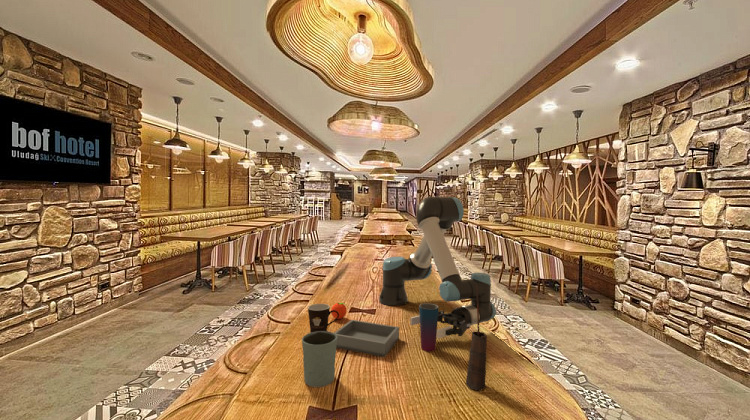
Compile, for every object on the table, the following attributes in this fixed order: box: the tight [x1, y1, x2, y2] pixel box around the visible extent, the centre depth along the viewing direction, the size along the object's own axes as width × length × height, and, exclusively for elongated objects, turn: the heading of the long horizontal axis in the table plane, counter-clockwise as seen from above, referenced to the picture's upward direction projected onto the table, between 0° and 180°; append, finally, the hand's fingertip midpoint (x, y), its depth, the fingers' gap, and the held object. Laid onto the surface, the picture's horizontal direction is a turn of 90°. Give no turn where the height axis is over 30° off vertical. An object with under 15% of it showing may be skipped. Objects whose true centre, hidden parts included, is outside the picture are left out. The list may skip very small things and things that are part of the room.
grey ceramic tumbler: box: [301, 330, 337, 388], centre depth 90 cm, size 10×10×12 cm
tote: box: [333, 319, 400, 358], centre depth 115 cm, size 16×20×4 cm
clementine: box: [330, 302, 349, 320], centre depth 140 cm, size 8×7×7 cm
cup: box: [418, 302, 440, 352], centre depth 111 cm, size 7×7×15 cm
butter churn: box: [465, 285, 488, 391], centre depth 86 cm, size 9×10×28 cm
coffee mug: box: [307, 303, 339, 333], centre depth 123 cm, size 12×9×10 cm
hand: (423, 327), depth 109 cm, fingers open, 13 cm apart
